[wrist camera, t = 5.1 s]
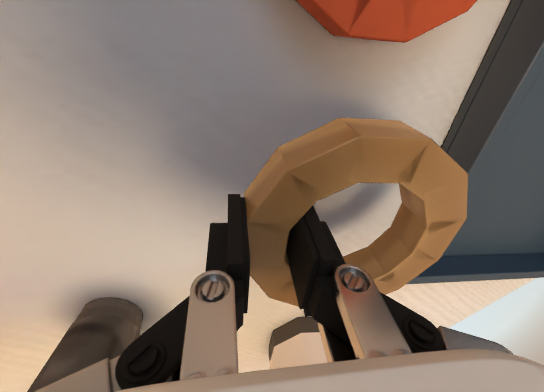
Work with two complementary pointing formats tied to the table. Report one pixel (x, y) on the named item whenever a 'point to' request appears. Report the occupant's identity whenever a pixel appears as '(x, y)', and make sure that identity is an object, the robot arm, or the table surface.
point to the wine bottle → (296, 344)
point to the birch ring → (346, 172)
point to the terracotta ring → (384, 17)
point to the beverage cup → (92, 339)
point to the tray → (501, 158)
